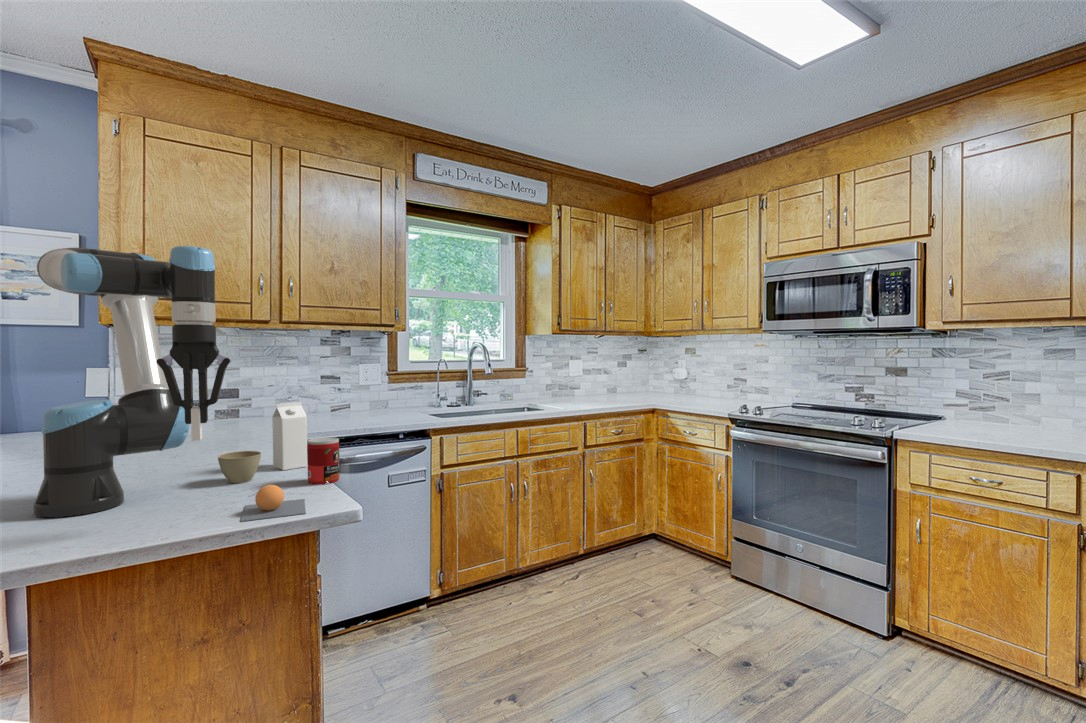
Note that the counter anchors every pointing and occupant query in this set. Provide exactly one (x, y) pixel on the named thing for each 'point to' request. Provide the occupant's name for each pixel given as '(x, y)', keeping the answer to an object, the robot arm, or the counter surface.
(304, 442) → the milk carton
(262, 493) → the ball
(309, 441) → the canned food
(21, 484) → the counter surface
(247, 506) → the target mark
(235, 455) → the olive green bowl
